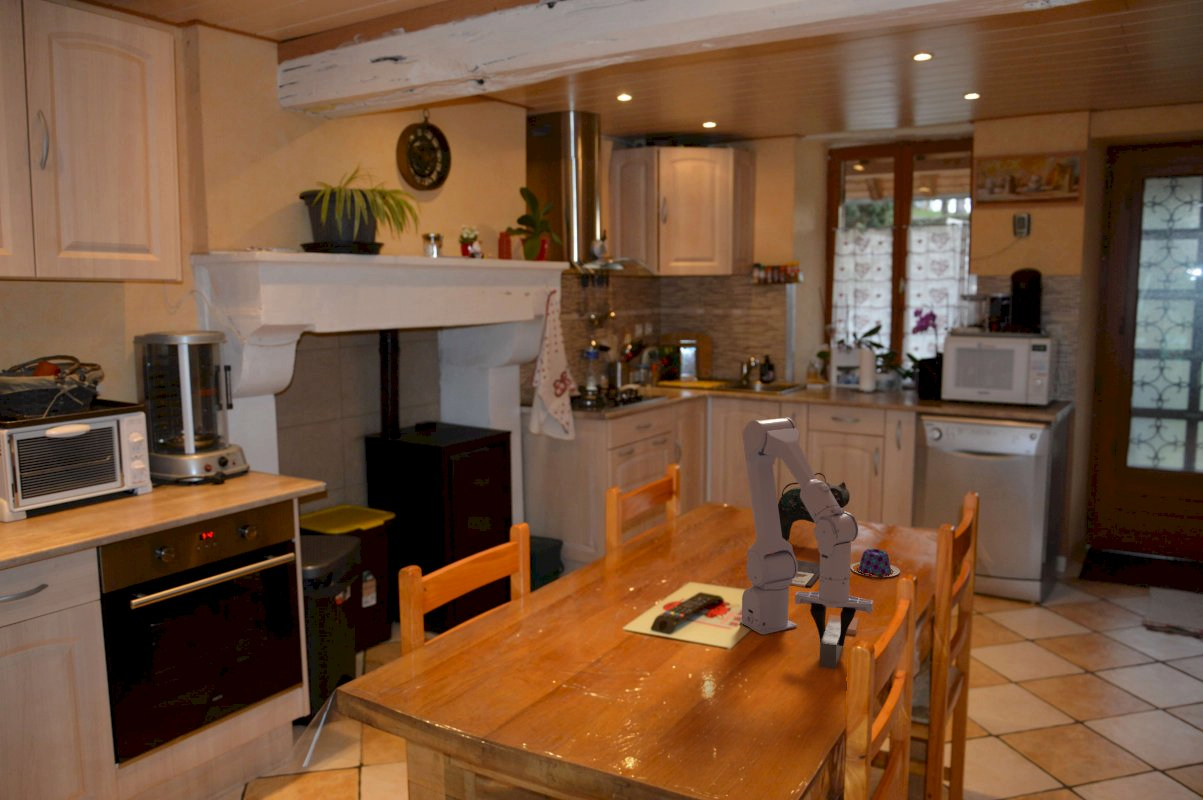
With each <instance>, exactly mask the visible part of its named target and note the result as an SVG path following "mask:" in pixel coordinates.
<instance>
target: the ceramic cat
mask: <svg viewBox="0 0 1203 800" xmlns="http://www.w3.org/2000/svg"><path fill="white" fill-rule="evenodd" d="M814 475H815V476H816V475H821V476H822V477H823V478H824V482H825V483H826V484H827V485H828V487H829V488H830V491H831V493H832V494H833V496H834V498H835V499H836V501H837V503H838V504H839V506H840V508H843V509H844V507H846V506H848V504H849V502H850V499H851V498H850V496H851V495H850V491H849V490H848V489H847V485H846V483H845V482H844V481H842V482H841V483H840V484H839V485H832V484H830V483H828V482H827V481H826V476H825V475H824V473H822V472H817V473H814ZM792 485H799V483H798V482H797V481H796V482H790V483H788V484H787V485H785V487H784V488H783V489H782V492H781V497H780V498H779V500H778V501H779V502H778V510H779V517H780V525H781V532H782V538H783V539H785V540H787V539H788V540H790V537H791V536H790V535H791V530H792V527H793V524H794V523H795V522H797V521H806V522H810V523H813V524H815V522H814V520H813V519H812V517H811V515H810V513H809V512H808V510H807V508H806V507H805V505H804V503H803V501H802V500H801V498H800V492H801V486H798V487H793V488H791V489H789V490H786V489H787V488H789V487H790V486H792ZM785 490H786V492H784V491H785ZM788 540H787V541H788Z"/></svg>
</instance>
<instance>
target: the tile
mask: <svg viewBox="0 0 1203 800" xmlns="http://www.w3.org/2000/svg"><path fill="white" fill-rule="evenodd" d="M828 615H829V616H828V618H827V621H826V624H825V628H826V627H827V625H828V622H829V621H836V622H841V615H837V614H835V615H834V614H828ZM858 626H859V617H854V618H853V619H852V621H851V623H850V625H849V627H848V629H847V632H846V635H852V636H856V635H857V631H858Z"/></svg>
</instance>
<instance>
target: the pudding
mask: <svg viewBox="0 0 1203 800" xmlns="http://www.w3.org/2000/svg"><path fill="white" fill-rule="evenodd" d="M857 564H860V565H859V568H858V569H859V570H861V571H860V572H863V573H869V574H872V575H887V574H889V576H888V575H887V576H883V577H882V578H889V577H894V576H896V575H899V574H900V573H901V570H900V569H899V568H898V567H897V566H895V565H892V564H891V563H890V557H889V554H888V552H887V551H886V550H882V549H878V548H870V549H866V550H864V551H863V553H862V554H861V558H860V561H858V562H855V563H852V564H850V570H852V572H855V573H857V574H859V575H863V576H867V577H870V576H869V574H866V575H864V574H861V573H858V572H856V571H854V569H853V566H855V565H857ZM891 569H892V570H893V571H894V572H893V574H892V575H891V573H892V571H891ZM859 570H858V571H859ZM872 577H875V578H876V577H877V578H879V577H878V576H872Z"/></svg>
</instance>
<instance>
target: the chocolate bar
mask: <svg viewBox="0 0 1203 800" xmlns="http://www.w3.org/2000/svg"><path fill="white" fill-rule="evenodd" d="M796 560H797V563H798V572H797V575H796V577H795V578H794V579H792V584H790V585H789V586H795V585H796V586H795V587H801V586H803V588H808V587H809V589H811V588H812V587H813V586H814V585H813V584H815V583H816V582H817V581H818V580H819V573H820V562H812V561H808V560H798V559H796ZM817 579H818V580H817Z"/></svg>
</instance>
